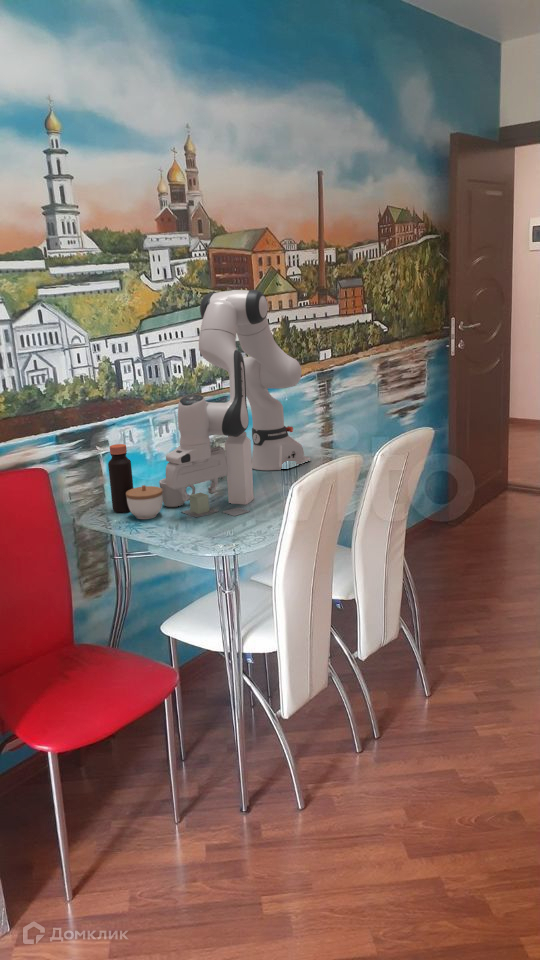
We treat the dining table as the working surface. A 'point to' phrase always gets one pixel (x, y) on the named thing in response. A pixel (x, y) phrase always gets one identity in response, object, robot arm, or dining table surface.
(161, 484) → the cup
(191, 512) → the thin grey square tile
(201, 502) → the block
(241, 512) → the grey square coaster
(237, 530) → the dining table surface
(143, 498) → the lidded jar
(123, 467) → the vinegar
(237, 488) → the milk
